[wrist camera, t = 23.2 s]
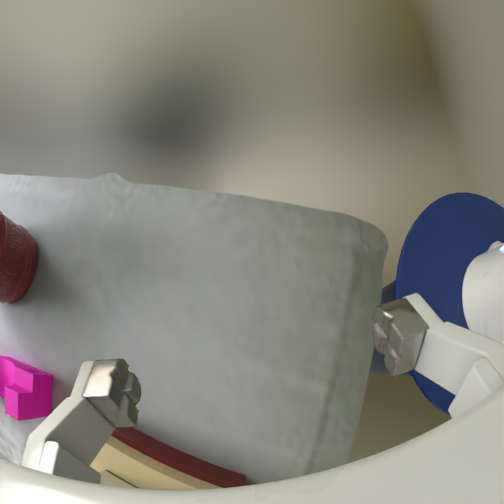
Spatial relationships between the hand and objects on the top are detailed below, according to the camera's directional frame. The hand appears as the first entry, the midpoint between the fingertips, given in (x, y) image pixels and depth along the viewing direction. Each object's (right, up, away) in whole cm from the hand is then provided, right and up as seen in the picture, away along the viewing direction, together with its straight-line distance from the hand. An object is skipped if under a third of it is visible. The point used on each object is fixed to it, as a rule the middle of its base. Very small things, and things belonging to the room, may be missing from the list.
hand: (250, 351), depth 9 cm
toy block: (-35, -17, +22) cm, 45 cm away
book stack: (-11, -26, +17) cm, 33 cm away
